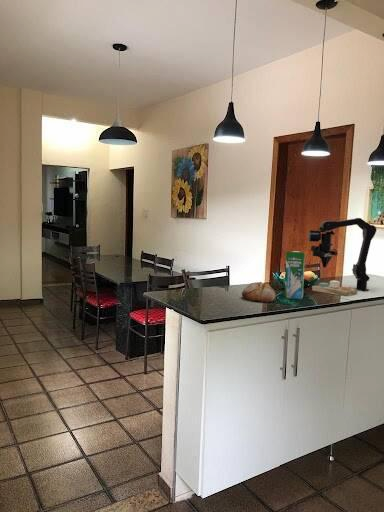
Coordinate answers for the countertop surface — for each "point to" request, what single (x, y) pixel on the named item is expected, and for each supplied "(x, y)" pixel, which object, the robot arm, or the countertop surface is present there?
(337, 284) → the key ivory
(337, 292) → the wooden cutting board
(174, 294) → the countertop surface
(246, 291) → the bread
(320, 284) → the key teal
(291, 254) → the milk carton
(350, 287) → the key terracotta
